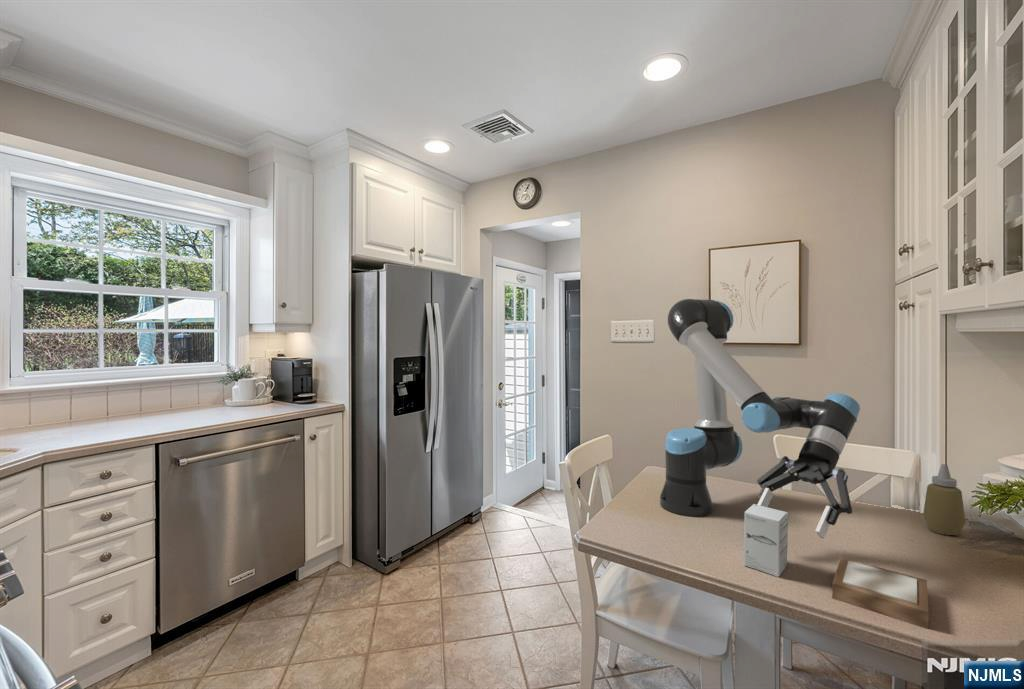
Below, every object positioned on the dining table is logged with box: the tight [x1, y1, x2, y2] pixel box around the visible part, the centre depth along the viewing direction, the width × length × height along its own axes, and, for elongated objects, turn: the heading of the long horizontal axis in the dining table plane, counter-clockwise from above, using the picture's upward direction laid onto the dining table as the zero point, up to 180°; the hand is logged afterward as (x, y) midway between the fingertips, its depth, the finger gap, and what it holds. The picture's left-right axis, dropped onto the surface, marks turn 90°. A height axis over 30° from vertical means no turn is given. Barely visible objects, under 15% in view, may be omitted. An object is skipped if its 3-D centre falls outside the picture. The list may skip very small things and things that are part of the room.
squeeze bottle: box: [922, 463, 966, 536], centre depth 117 cm, size 8×8×18 cm
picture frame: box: [831, 556, 930, 629], centre depth 89 cm, size 14×14×3 cm
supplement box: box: [743, 503, 789, 578], centre depth 101 cm, size 7×7×13 cm
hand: (787, 523), depth 101 cm, fingers open, 13 cm apart
